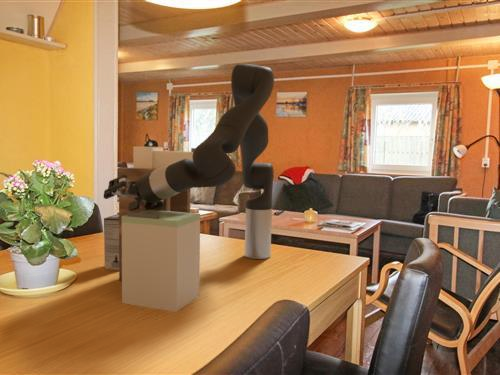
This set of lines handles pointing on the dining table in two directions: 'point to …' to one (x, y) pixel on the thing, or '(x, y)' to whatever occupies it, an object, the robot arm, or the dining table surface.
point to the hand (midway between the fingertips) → (117, 201)
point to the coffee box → (111, 242)
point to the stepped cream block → (157, 157)
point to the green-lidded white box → (160, 259)
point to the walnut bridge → (173, 203)
